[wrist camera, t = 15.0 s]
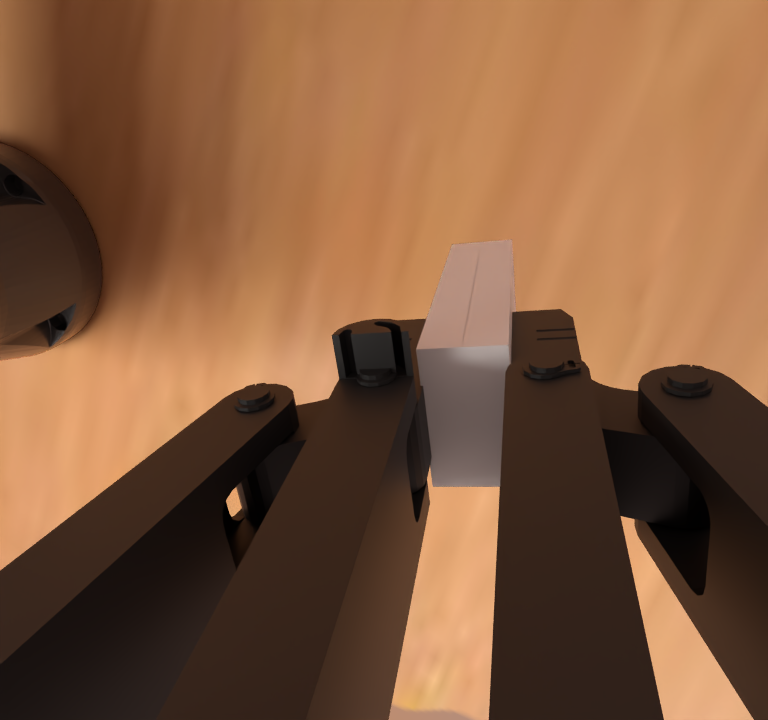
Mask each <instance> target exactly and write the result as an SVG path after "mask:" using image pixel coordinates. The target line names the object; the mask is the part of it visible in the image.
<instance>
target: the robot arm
mask: <svg viewBox="0 0 768 720" xmlns="http://www.w3.org/2000/svg"><path fill="white" fill-rule="evenodd" d="M101 284H102V267H101V259H100V254H99V249H98V245H97V242H96V239H95V236H94V233H93V231H92V228H91V226H90V224H89V222H88V219H87V218H86V216H85V214H84V212H83V210H82V209H81V207H80V205H79V204H78V202H77V201H76V199H75V198H74V197H73V195H72V194H71V193H70V191H69V190H68V189H67V188H66V187H65V185H64V184H63V183H62V182H61V181H60V180H59V179H58V178H57V177H56V176H55V175H54V174H53V173H52V172H51V171H49V170H48V169H47V168H46V167H45V166H43V165H42V164H41V163H39V162H38V161H37V160H35V159H34V158H32V157H30V156H29V155H27V154H25V153H23V152H22V151H20V150H17V149H15V148H13V147H11V146H8V145H5V144H2V143H0V361H2V360H8V359H15V358H21V357H28V356H33V355H37V354H40V353H43V352H46V351H48V350H50V349H52V348H54V347H56V346H58V345H59V344H61V343H63V342H64V341H66V340H67V339H69V338H71V337H72V336H74V335H75V334H77V333H78V332H79V331H80V330H81V329H82V328H83V327H84V326H85V325H86V324H87V322H88V321H89V320H90V318H91V317H92V315H93V313H94V311H95V309H96V306H97V304H98V300H99V297H100V292H101ZM332 339H333V345H334V351H335V356H336V362H337V368H338V373H339V381H338V383H337V384H336V386H335V388H334V390H333V392H332V394H331V396H330V397H329V399H326V400H322V401H318V402H312V403H307V404H302V405H297V406H296V404H295V399H294V394H293V391H292V390H291V389H290V388H288V387H287V386H283V385H279V384H266V383H260V384H257V385H256V386H255V384H253V385H249V386H246V387H245V388H244V389H241V390H239V391H236V392H234V393H232V394H230V395H229V396H227V397H225V398H224V399H222V400H221V401H220V402H218V403H217V404H216V405H215V406H213V407H212V408H211V409H209V410H208V411H207V412H205V413H204V414H203V415H202V416H200V417H199V418H198V419H196V420H195V421H194V422H193V423H191V424H190V425H189V426H187V427H186V428H185V429H183V430H182V431H181V432H180V433H178V434H177V435H176V436H174V437H173V438H172V439H170V440H169V441H168V442H167V443H165V444H164V445H163V446H161V447H160V448H159V449H157V450H156V451H155V452H154V453H152V454H151V455H150V456H148V457H147V458H146V459H145V460H143V461H142V462H141V463H139V464H138V465H137V466H135V467H134V468H133V469H132V470H130V471H129V472H128V473H126V474H125V475H124V476H122V477H121V478H120V479H119V480H117V481H116V482H115V483H113V484H112V485H111V486H109V487H108V488H107V489H106V490H104V491H103V492H102V493H100V494H99V495H98V496H97V497H95V498H94V499H93V500H91V501H90V502H89V503H87V504H86V505H85V506H84V507H82V508H81V509H80V510H78V511H77V512H76V513H74V514H73V515H72V516H71V517H69V518H68V519H67V520H65V521H64V522H63V523H61V524H60V525H59V526H58V527H56V528H55V529H54V530H52V531H51V532H50V533H49V534H47V535H46V536H45V537H43V538H42V539H41V540H39V541H38V542H37V543H36V544H34V545H33V546H32V547H30V548H29V549H28V550H26V551H25V552H24V553H23V554H21V555H20V556H19V557H17V558H16V559H15V560H13V561H12V562H11V563H10V564H8V565H7V566H6V567H4V568H3V569H2V570H1V571H0V720H388V719H389V714H390V708H391V703H392V698H393V693H394V688H395V682H396V677H397V672H398V667H399V662H400V656H401V651H402V646H403V641H404V635H405V630H406V625H407V620H408V615H409V609H410V604H411V599H412V594H413V588H414V583H415V578H416V573H417V568H418V562H419V557H420V552H421V547H422V541H423V536H424V531H425V526H426V520H427V515H428V510H429V505H430V500H429V492H428V484H427V476H428V471H429V467H430V468H431V476H432V484H433V487H500V497H499V518H498V539H497V560H496V581H495V602H494V623H493V644H492V665H491V686H490V707H489V720H664V718H663V714H662V709H661V704H660V699H659V695H658V690H657V685H656V681H655V676H654V671H653V667H652V662H651V657H650V653H649V648H648V643H647V639H646V634H645V629H644V624H643V620H642V615H641V610H640V606H639V601H638V596H637V592H636V587H635V582H634V578H633V573H632V568H631V564H630V559H629V554H628V549H627V545H626V540H625V535H624V531H623V526H622V521H621V517H620V516H623V517H628V518H633V519H635V528H636V532H637V535H638V537H639V538H640V540H641V541H642V543H643V545H644V546H645V548H646V549H647V551H648V553H649V554H650V556H651V557H652V559H653V561H654V562H655V564H656V565H657V567H658V568H659V570H660V572H661V573H662V575H663V576H664V578H665V580H666V581H667V583H668V584H669V586H670V587H671V589H672V591H673V592H674V594H675V595H676V597H677V599H678V600H679V602H680V603H681V605H682V606H683V608H684V610H685V611H686V613H687V614H688V616H689V618H690V619H691V621H692V622H693V624H694V625H695V627H696V629H697V630H698V632H699V633H700V635H701V637H702V638H703V640H704V641H705V643H706V644H707V646H708V648H709V649H710V651H711V652H712V654H713V656H714V657H715V659H716V660H717V662H718V664H719V665H720V667H721V668H722V670H723V671H724V673H725V675H726V676H727V678H728V679H729V681H730V683H731V684H732V686H733V687H734V689H735V690H736V692H737V694H738V695H739V697H740V698H741V700H742V702H743V703H744V705H745V706H746V708H747V709H748V711H749V713H750V714H751V716H752V717H753V719H754V720H768V407H767V406H765V405H764V404H763V403H762V402H760V401H759V400H758V399H756V398H755V397H754V396H753V395H751V394H750V393H749V392H748V391H746V390H745V389H744V388H743V387H741V386H740V385H739V384H738V383H736V382H735V381H734V380H732V379H731V378H729V377H727V376H725V375H724V374H722V373H720V372H717V371H713V370H710V369H706V368H704V367H702V366H695V365H692V367H691V366H690V365H678V366H672V367H664V368H660V369H656V370H652V371H650V372H648V373H647V374H645V375H643V376H642V377H641V379H640V382H639V384H638V391H630V390H623V389H617V388H612V387H608V386H605V385H602V384H599V383H597V382H595V381H593V380H592V379H591V376H590V371H589V368H588V367H587V365H586V364H585V362H583V361H582V360H581V355H580V351H579V346H578V341H577V336H576V331H575V326H574V321H573V317H571V316H570V315H568V314H567V313H565V312H564V311H563V310H561V309H556V310H539V311H521V312H516V302H515V284H514V265H513V246H512V239H511V240H499V241H487V242H474V243H462V244H452V246H451V249H450V252H449V255H448V258H447V260H446V263H445V266H444V269H443V272H442V275H441V278H440V281H439V284H438V287H437V290H436V293H435V296H434V298H433V301H432V304H431V307H430V310H429V313H428V316H427V319H415V320H392V319H372V320H365V321H360V322H356V323H353V324H349V325H347V326H345V327H343V328H340V329H338V330H337V331H336V332H335V333H334V334H333V335H332ZM235 487H236V488H237V491H238V495H239V499H240V503H241V506H242V509H241V510H240V511H239V512H238V513H237V514H236V515H235V516H233V517H231V515H230V514H229V511H228V507H227V504H226V499H227V498H228V496H229V495H230V493H231V492H232V490H233V489H234V488H235Z"/></svg>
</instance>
